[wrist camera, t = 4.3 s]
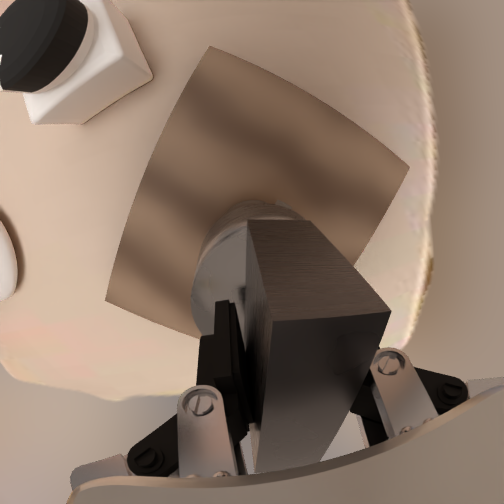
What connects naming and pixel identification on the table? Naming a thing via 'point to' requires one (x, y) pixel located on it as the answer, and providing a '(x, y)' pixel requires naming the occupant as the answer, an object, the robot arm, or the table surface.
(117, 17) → the medicine bottle
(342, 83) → the table surface
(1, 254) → the flower in vase
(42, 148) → the table surface
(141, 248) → the brown wooden board
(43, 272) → the table surface
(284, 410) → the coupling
